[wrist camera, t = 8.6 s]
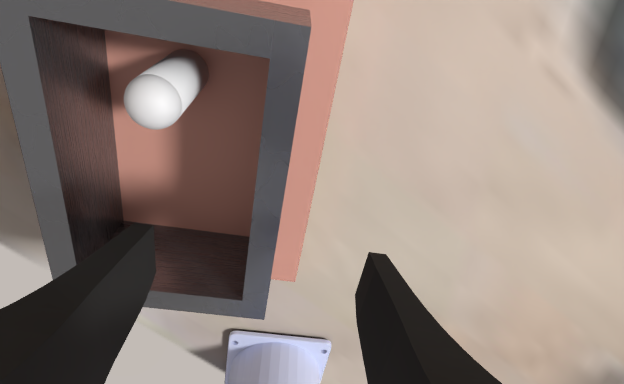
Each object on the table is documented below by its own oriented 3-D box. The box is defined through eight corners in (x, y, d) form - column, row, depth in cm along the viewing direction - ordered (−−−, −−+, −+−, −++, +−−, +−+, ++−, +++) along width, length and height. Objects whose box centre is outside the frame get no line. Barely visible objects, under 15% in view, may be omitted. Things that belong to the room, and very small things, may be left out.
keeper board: (295, 266, 26) (292, 356, 20) (82, 240, 25) (11, 329, 19) (356, -34, 17) (384, -32, 11) (22, -103, 15) (-156, -144, 9)
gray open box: (271, 254, 24) (264, 319, 19) (104, 234, 23) (57, 297, 18) (309, 10, 16) (311, 27, 12) (67, -37, 15) (-24, -37, 11)
